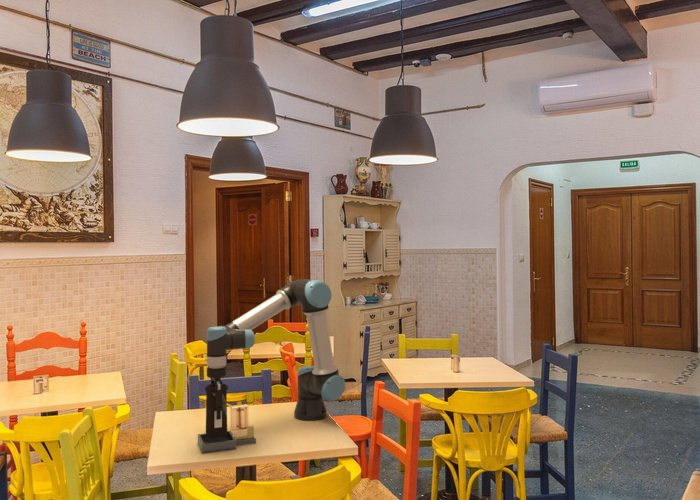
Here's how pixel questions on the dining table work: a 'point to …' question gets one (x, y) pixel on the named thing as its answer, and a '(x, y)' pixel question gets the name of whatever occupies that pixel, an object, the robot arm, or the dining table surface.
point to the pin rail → (246, 441)
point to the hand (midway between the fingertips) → (216, 424)
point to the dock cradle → (216, 443)
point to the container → (210, 414)
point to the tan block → (249, 434)
